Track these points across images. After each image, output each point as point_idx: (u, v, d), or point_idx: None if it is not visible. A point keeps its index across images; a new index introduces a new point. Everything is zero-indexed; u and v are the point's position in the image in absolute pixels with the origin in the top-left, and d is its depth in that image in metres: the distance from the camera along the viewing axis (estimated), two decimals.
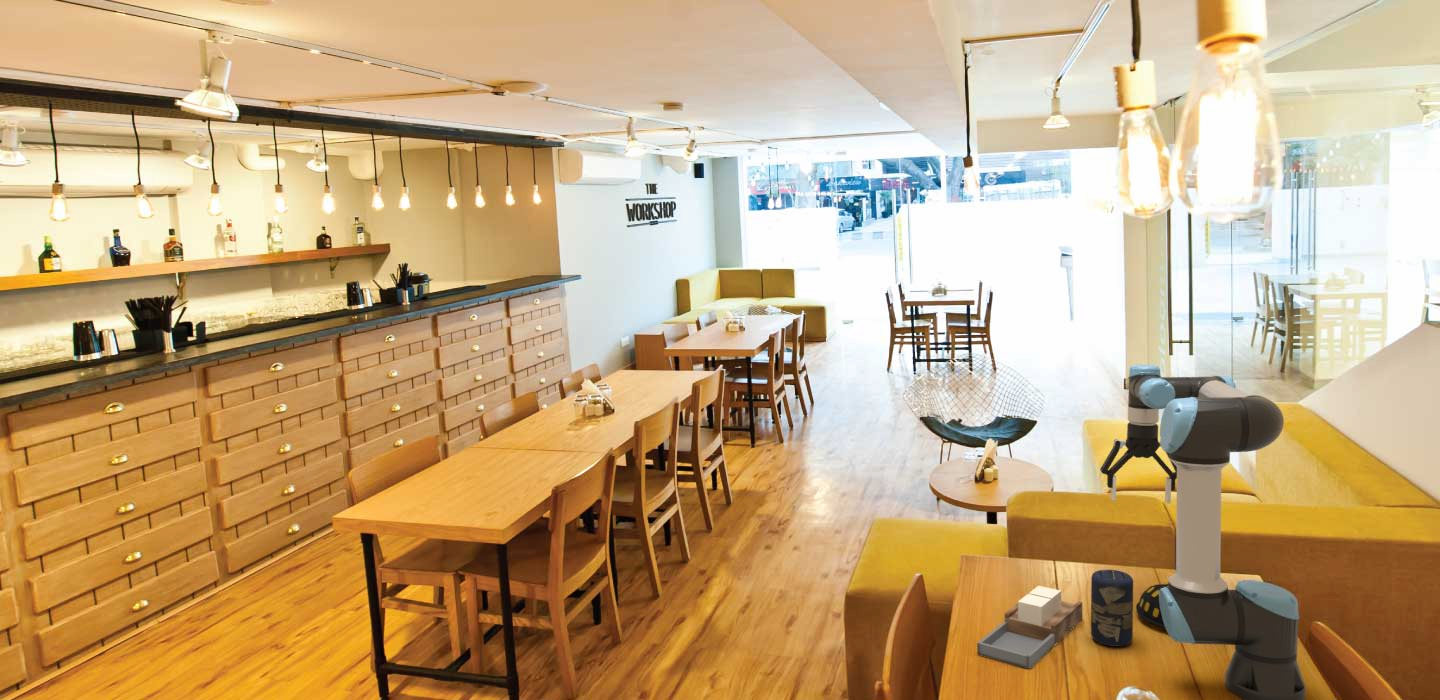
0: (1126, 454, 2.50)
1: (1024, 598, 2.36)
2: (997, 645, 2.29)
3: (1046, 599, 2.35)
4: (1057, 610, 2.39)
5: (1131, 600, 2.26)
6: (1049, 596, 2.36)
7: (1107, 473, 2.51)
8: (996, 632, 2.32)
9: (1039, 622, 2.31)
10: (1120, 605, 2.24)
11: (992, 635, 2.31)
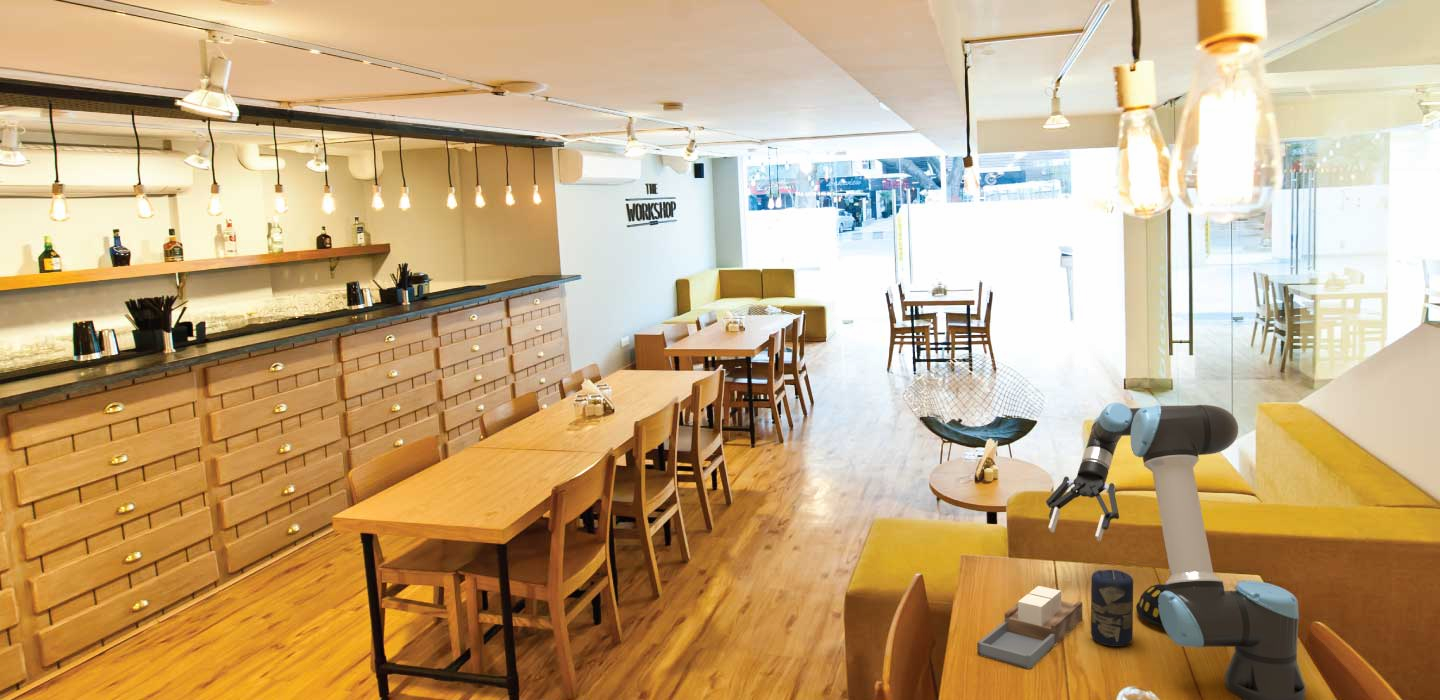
0: None
1: (1024, 598, 2.36)
2: (997, 645, 2.29)
3: (1046, 599, 2.35)
4: (1057, 610, 2.39)
5: (1131, 600, 2.26)
6: (1049, 596, 2.36)
7: (1051, 504, 2.61)
8: (996, 632, 2.32)
9: (1039, 622, 2.31)
10: (1120, 605, 2.24)
11: (992, 635, 2.31)
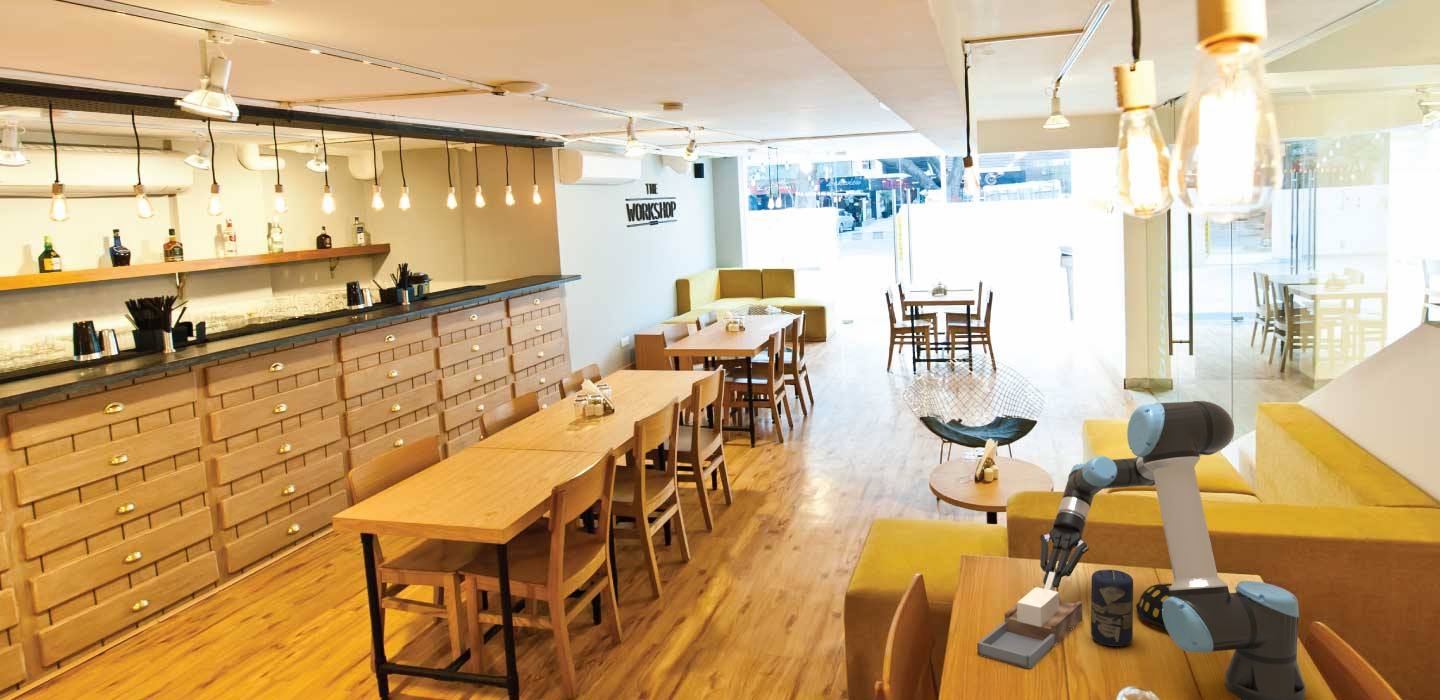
0: None
1: (1023, 599, 2.36)
2: (997, 645, 2.29)
3: (1045, 600, 2.34)
4: (1055, 611, 2.38)
5: (1131, 600, 2.26)
6: (1047, 598, 2.35)
7: (1045, 568, 2.47)
8: (996, 632, 2.32)
9: (1038, 623, 2.31)
10: (1120, 605, 2.24)
11: (992, 635, 2.31)
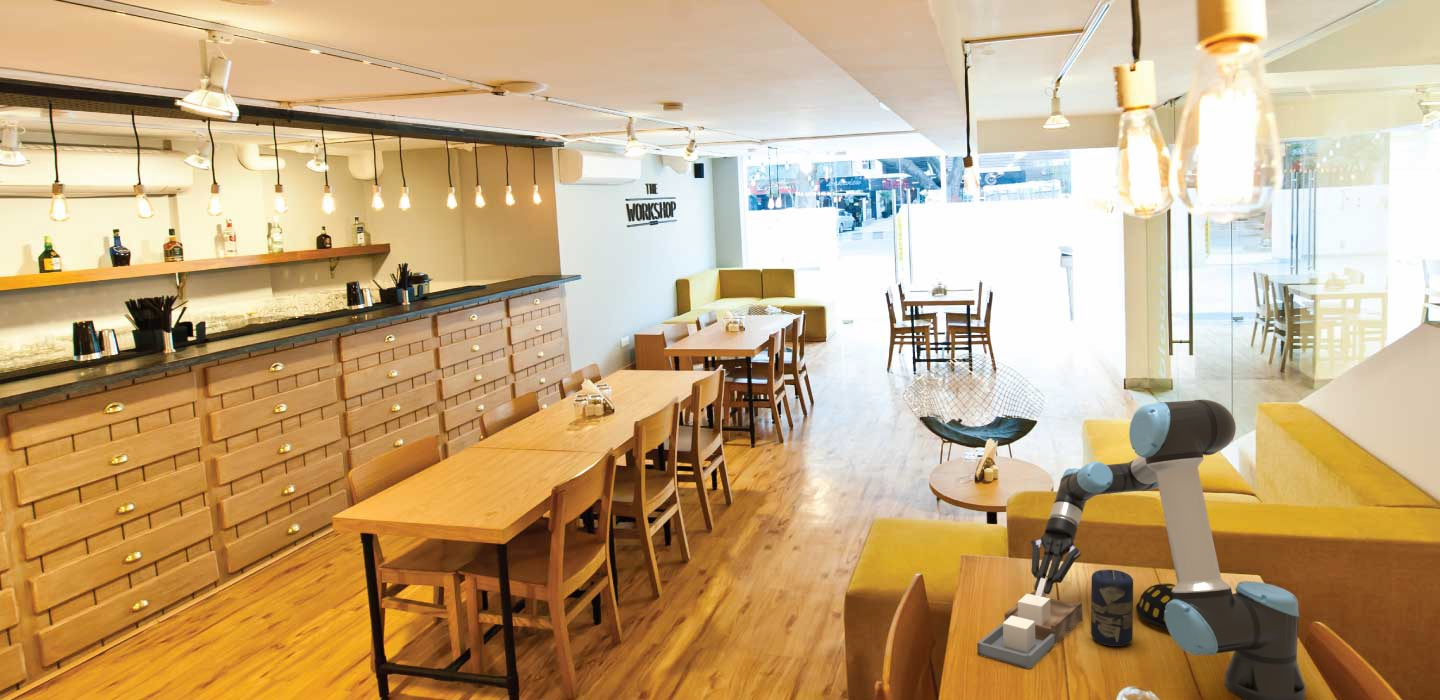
0: None
1: (1005, 636, 2.28)
2: (997, 645, 2.29)
3: (1023, 631, 2.25)
4: (1046, 618, 2.34)
5: (1131, 600, 2.26)
6: (1039, 605, 2.32)
7: (1037, 575, 2.43)
8: (996, 632, 2.32)
9: None
10: (1120, 605, 2.24)
11: (992, 635, 2.31)
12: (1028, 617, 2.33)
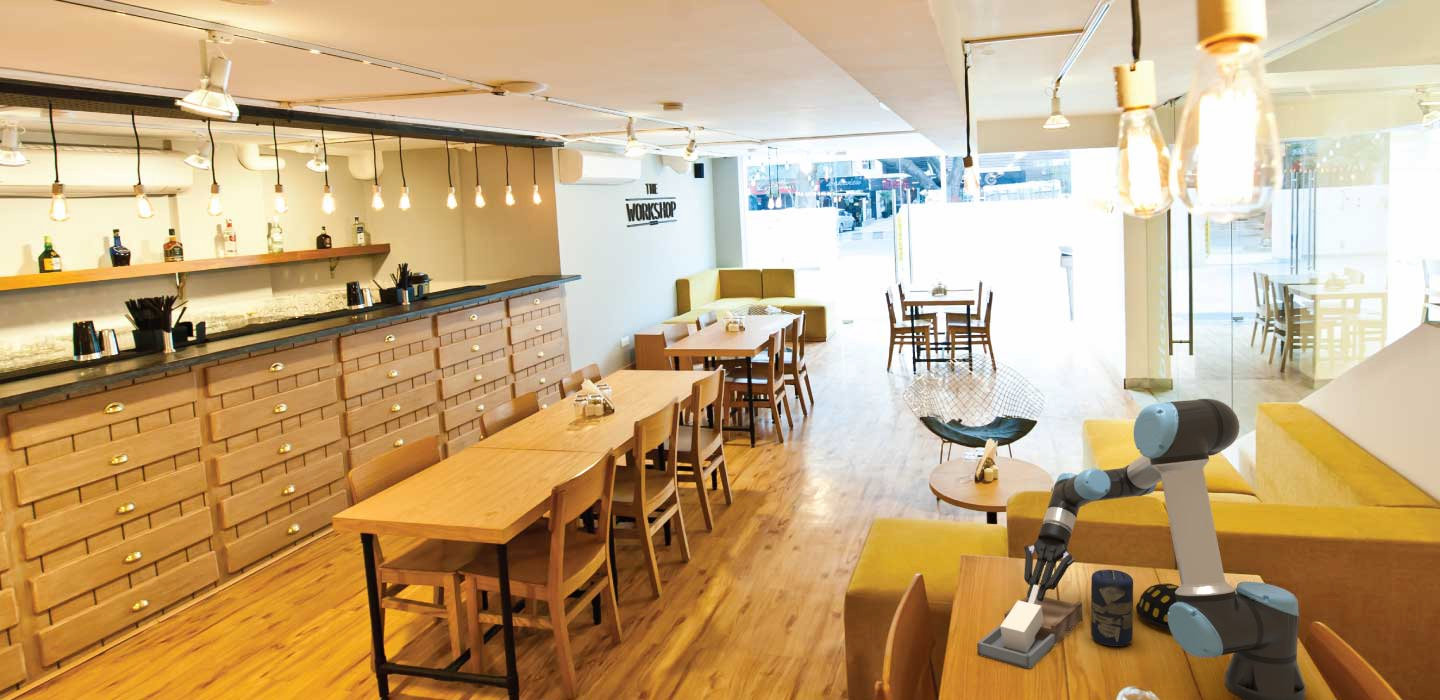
0: None
1: (1003, 637, 2.28)
2: (997, 645, 2.29)
3: (1021, 634, 2.24)
4: (1039, 626, 2.30)
5: (1131, 600, 2.26)
6: (1029, 618, 2.27)
7: (1030, 581, 2.39)
8: (996, 632, 2.32)
9: None
10: (1120, 605, 2.24)
11: (992, 635, 2.31)
12: None
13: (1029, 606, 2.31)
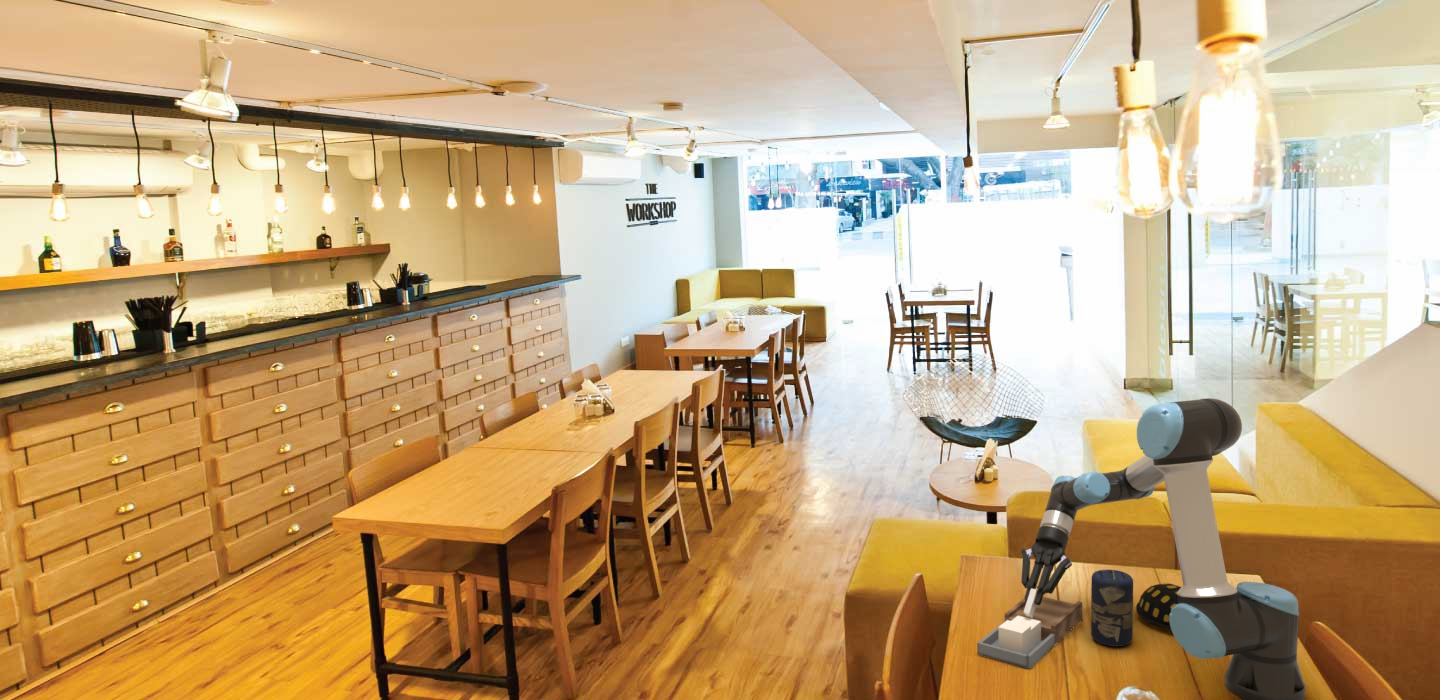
0: None
1: (1000, 640, 2.26)
2: (997, 645, 2.29)
3: (1019, 635, 2.23)
4: (1037, 642, 2.29)
5: (1131, 600, 2.26)
6: None
7: (1027, 585, 2.36)
8: (996, 632, 2.32)
9: None
10: (1120, 605, 2.24)
11: (992, 635, 2.31)
12: None
13: (1029, 620, 2.31)
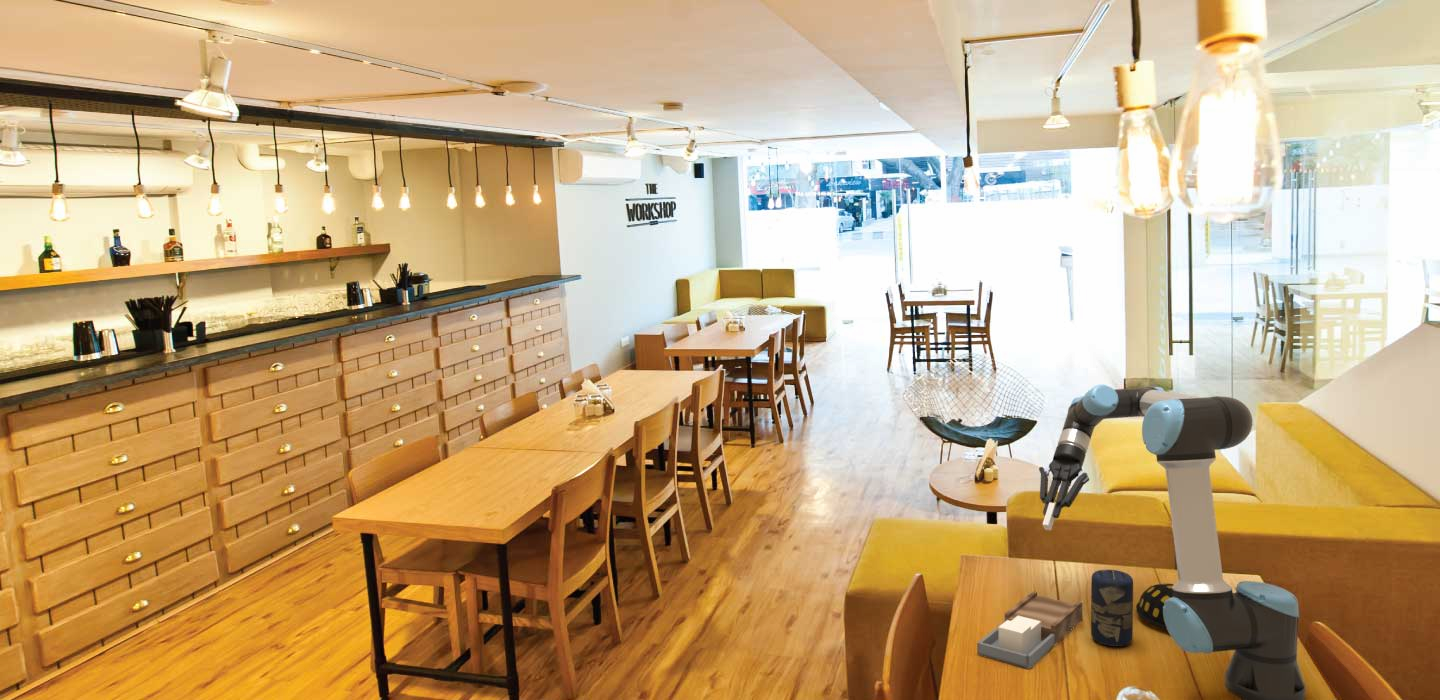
0: None
1: (1000, 640, 2.26)
2: (997, 645, 2.29)
3: (1019, 635, 2.23)
4: (1037, 642, 2.29)
5: (1131, 600, 2.26)
6: None
7: (1045, 500, 2.42)
8: (996, 632, 2.32)
9: None
10: (1120, 605, 2.24)
11: (992, 635, 2.31)
12: None
13: (1029, 620, 2.31)
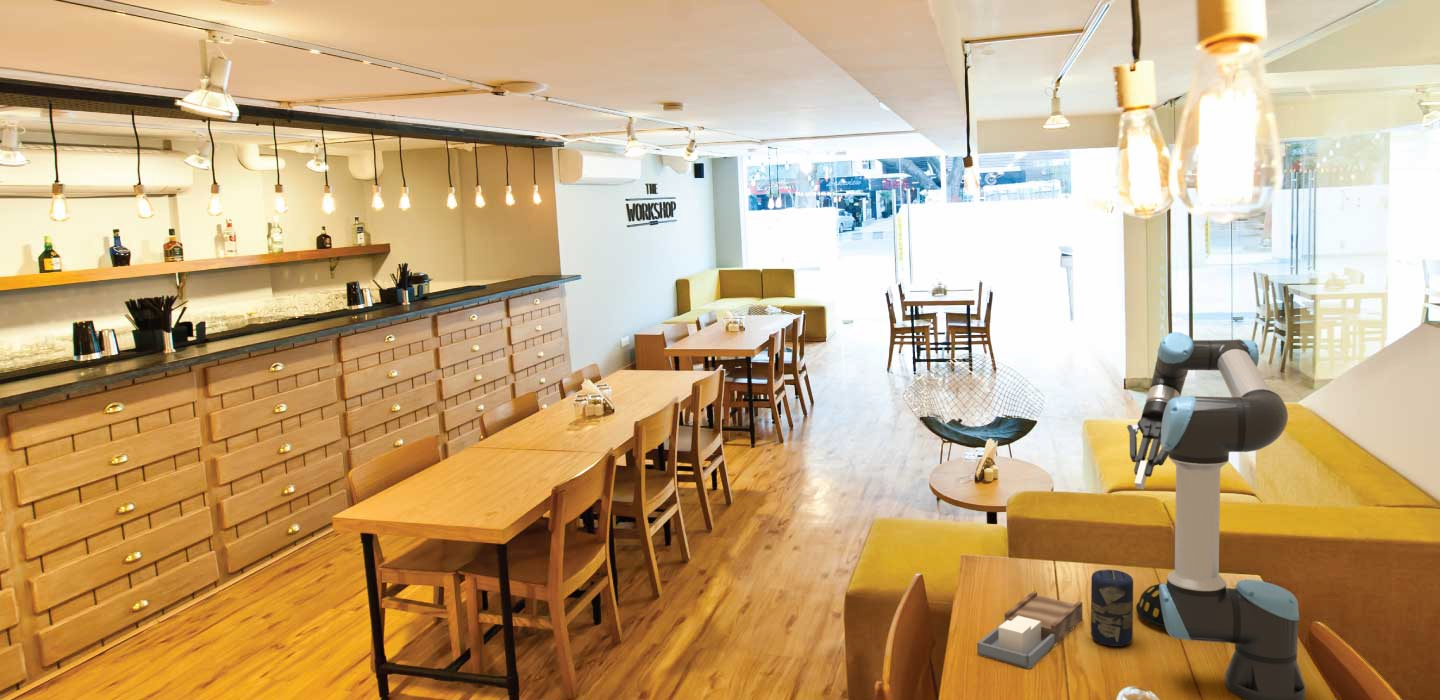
0: None
1: (1000, 640, 2.26)
2: (997, 645, 2.29)
3: (1019, 635, 2.23)
4: (1037, 642, 2.29)
5: (1131, 600, 2.26)
6: None
7: (1136, 458, 2.33)
8: (996, 632, 2.32)
9: None
10: (1120, 605, 2.24)
11: (992, 635, 2.31)
12: None
13: (1029, 620, 2.31)
